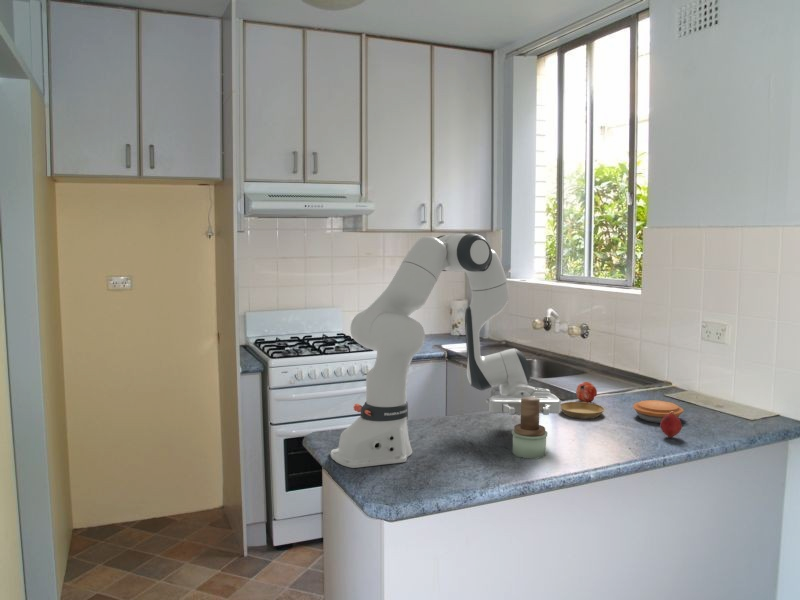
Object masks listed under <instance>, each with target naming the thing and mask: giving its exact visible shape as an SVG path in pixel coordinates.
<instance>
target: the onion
mask: <svg viewBox="0 0 800 600" xmlns="http://www.w3.org/2000/svg"><path fill="white" fill-rule="evenodd" d="M659 425H660V429H661V431H662V433H663V434H665V436H667V437H668V438H670V439H671V438H674V437H675V436H677V435H678V434H680V432H681V430H682V428H683V427H682V421H681V419H680V417H677V416H675V415H674V411H671V412H670V413H669V414H668V415H666V416H665V417H664V418H663V419H662V420H661V423H659Z"/></svg>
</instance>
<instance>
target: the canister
mask: <svg viewBox="0 0 800 600" xmlns="http://www.w3.org/2000/svg"><path fill="white" fill-rule="evenodd" d="M511 434H512V454H513V455H514V456H516V457H518V458H521V457H523V458H522V459H528V458H530V459H531V460H532V459H534V460H535V458H537V459H541V458H545V457H546V454H547V453H546V452H547V437H548V431H546V430H545V434H544V435H542V436H537V437H528V436H522V435H518V434H516V433H515V432H514V428H513V429H512V430H511Z"/></svg>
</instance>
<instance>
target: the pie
mask: <svg viewBox="0 0 800 600" xmlns="http://www.w3.org/2000/svg"><path fill="white" fill-rule="evenodd" d="M632 408H633V410H634V411H636V413H637V415H638V418H640V419H641V420H643V421H646V422H650V423H658V424H660V423H661V420H662V419H663V418H664V417H665V416H666V415H668V414H669V413H670V412H671V411H674V415H675V416H677V417H678V418H680V415H682V414H683V413H684V408H682V407H680V406H679V405H677V404H675V403H673V402H669V401H663V400H657V399H655V400H654V399H651V400H650V399H648V400H641V401H639V402H635V403H634V404H633V405H632Z"/></svg>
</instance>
